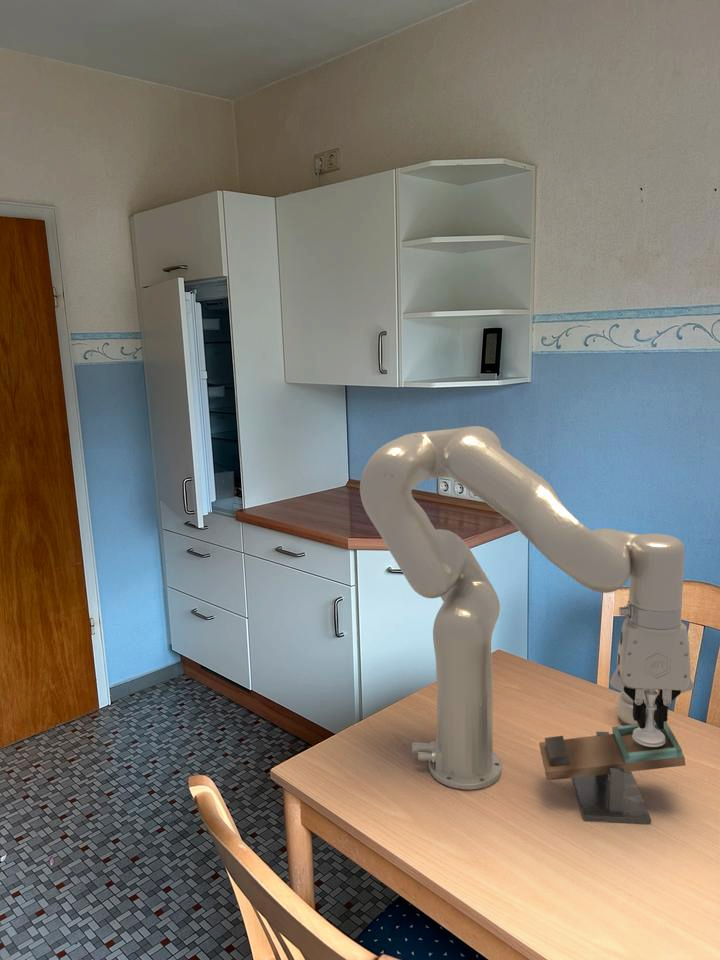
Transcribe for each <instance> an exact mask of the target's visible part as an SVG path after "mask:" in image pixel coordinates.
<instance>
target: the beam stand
mask: <svg viewBox="0 0 720 960" xmlns="http://www.w3.org/2000/svg"><path fill="white" fill-rule="evenodd" d="M607 734H610V732H609V731H596V732H595V736H598V735H607ZM571 780H572V784H573V786H574V788H573V789H574V792H575V795H576V798H577V802H578V806H579V809H580V813H581V817H582V820H583V822H594V823H595V822H598V823H617V824H633V825H634V824H636V825H637V824H638V825H639V824H640V825H651V822H652V818H651V815H650V813H649V811H648V809H647V806H646V803H645V801H644V799H643V796H642V794H641V791H640V789H639V787H638V784H637V782H636V780H635V777H634V774H633V771H631V772H624V770H623V768H609V774H604V775H595V776H586V777H577V778H571Z"/></svg>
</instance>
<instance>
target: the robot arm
mask: <svg viewBox="0 0 720 960" xmlns="http://www.w3.org/2000/svg"><path fill="white" fill-rule="evenodd" d="M502 447H503V446H502V443H501V441H500V439H499V437H498V435H496V433H495V432H493V431H492V430H491V429H489V428H487V427H484V426H479V425H475V426H474V425H472V426H465V427H463V426H462V427H458V428H451V429H450V428H448V429H440V430H431V431H429V430H428V431H422V432H421V431H419V432H412V433H407V434H404V435H402V436H400V437H399V436H398V438H396V439H393V440H391V441H389V442H387V443H385V444H384V445H382V446H380V447H379V448H377V450H376V451H375V452H374V453H373V454H372V455H371V457H370V458H369V459H368V461H367V463H366V464H365V466H364V468H363V470H362V472H361V473H362V474H361V477H360V483H359V484H360V485H359V493H360V499H361V502H362V503H361V504H362V507H363V508H364V511H365V512H366V514H367V517H368V518H369V519H370V521H371V522H372V524H373V526H374V527H375V529H376V531H377V532H378V533H379V535H380V537H381V539H382V540H383V542H384V543H385V545H386V547H387V549H388V551H389V553H390V555H391V556H392V557H393V559H394V560H395V562H396V564H397V565H398V568H399V569H400V571H401V572H402V573H403V576H404V577H405V579H406V581H407V583H408V584H409V586H411V588H412V590H413V591H414V592H415V593H416V594H418V595H419V596H421V597H423V598H426V599H436V598H441V600H442V601H443V603H442V604H441V606H440V608H439V609H438V611H437V614H436V616H435V619H434V622H433V627H432V628H433V629H432V641H433V648H434V654H435V656H434V657H435V671H436V672H435V673H436V679H435V680H436V726H437V731H436V734H437V735H436V736H435V741H429V742H430V743H426V742H416V741H415V742H414V741H413V742H412V743H411V744H412V745H411V753H412V754H413V755H418V756H417V757H418V758H417V759H418V761H421V762H422V761H428V769H429V772H430V774H431V775H432V777H433V778H434V779H435V780H436V781H437V782H439V783H441V784H443V785H445V786H447V787H450V788H453V789H457V790H468V791H470V790H479V789H484V788H487V787H489V786H491V785H493V784H495V783H496V782H497V781H498V780H499V779H500V777H501V775H502V770H503V769H502V768H503V767H502V765H503V764H502V762H501V759H500V758H499V757H498V755H497V754H496V753H494V752H493V751H494V750H493V747H494V746H493V743H494V742H493V738H494V737H493V736H494V735H493V733H494V731H493V727H494V725H493V724H494V723H493V720H494V719H493V718H494V717H493V716H494V713H493V712H494V711H493V708H494V707H493V706H494V702H493V701H494V700H493V698H494V695H493V694H494V693H493V690H494V689H493V686H494V685H493V678H494V677H493V657H492V639H493V637H492V636H493V633H494V630H495V628H496V625H497V621H498V619H499V615H500V609H501V604H500V600H499V596H498V594H497V592H496V590H495V588H494V586H493V585H492V583H491V581H490V580H489V578H488V577H487V575H486V573H485V572H484V570H483V568H482V567H481V565H480V563H479V561H478V560H477V559H476V557H475V555H474V553H473V552H472V550H471V549H470V547H469V546H468V544H467V543H466V542H465V541H464V540H463V538H461V537H460V536H459V535H458V534H456V533H454V532H452V531H451V530H447V529H436V528H435V526H434V525H433V523H432V522H431V520H430V518H429V517H428V514H427V513H426V512H425V510H424V509H423V507H421V505H420V504H419V503H418V502H417V501H416V500H415V499H414V497H413V494H412V491H413V489H414V488H415V487H416V486H417V485H418V484H419V483H421V482H423V481H425V480H428V479H429V480H430V479H440V478H441V479H442V478H452V479H453V480H454V481H456V482H457V483H458V484H460V485H461V486H462V487H464V488H465V489H466V490H467V491H469V492H470V493H472V494H473V495H474V496H476V497H477V498H478V499H479V500H481V501H482V502H484V503H485V504H486V505H488V506H489V507H491V508H492V509H493V510H495V511H496V512H498V513H499V515H502V517H504V518H506V519H507V521H509V522H511V524H513V525H514V526H515V527H516V528H517V530H518V531H519V533H521V535H523V537H524V538H526V539H527V540H528V541H529V542H530V543H531V544H532V545H533V546H534V547H535V548H536V549H537V550H538V552H539V553H540V554H542V555H543V556H544V557H545V559H547V560H548V561H549V562H551V564H553V565H554V566H556V567H557V568H559V570H560V571H562V572H564V573H565V574H566V575H568V576H569V577H570V578H572V580H575V581H576V582H578V583H579V584H580V585H581V586H583V587H585V588H587V589H589V590H591V591H593V592H597V593H604V594H607V593H612V592H615V591H618V590H620V589H621V588H622V587H623V586H624V585H625V584H626V583H627V581H628V580H629V589H628V590H629V592H628V594H629V595H628V600H627V604H626V605H624V606H619V608H618V615H619V616H624V617H625V618H624V620H623V623H622V627H621V630H620V635H619V641H618V648H617V656H616V668H615V670H614V671H613V674H612V676H611V678H610V679H609V684H610V686H611V687H612V688H614V689H615V690H618V691H619V692H621V691H623V692H625V693H626V694H627V695H628V696H629V697H630V698H631V699H632V700H633V719H634V720H635V721H637V723H638V725H639V727H640V728H641V729H644V728H645V723H646V705H645V703H644V699H643V693H644V689H647V690H655V691H657V693H658V695H657V697H656V699H655V702H654V704H656V705H657V709H656V710H654V722H655V723H656V725H657V726H658V728H659V729H664V722H667V723H668V713H669V707H670V705H671V704H672V701H673V700H675V699H677V697H678V696H680V695H681V694H684V693H687V692H690V691H692V690H694V688H695V685H694V683H693V682H692V679H691V654H690V640H689V633H688V628H687V625H686V624H685V623H684V622H683V621H682V611H683V610H682V609H683V608H682V606H683V586H684V570H685V569H684V568H685V546H684V543H683V542H682V540H681V539H679V538H677V537H675V536H672V535H669V534H662V533H646V534H645V533H644V534H641V533H640V534H639V533H633V532H628V531H623V530H620V529H619V530H618V529H613V528H603V527H602V528H596V529H593V530H591V529H589V528H588V527H587V526H586V525H585V524H583V523H582V522H580V521H579V520H578V519H577V518H576V517H575V516H574V515H573V514H572V513H571V512H570V511H569V510H568V509H567V508H566V506H564V504H563V503H562V502H561V500H560V498H559V497H558V496H557V494H556V493H557V492H555V490H554V489H553V487H552V485H551V484H549V482H548V481H547V480H546V479H545V478H544V477H542V476H541V475H539V474H538V473H536V472H535V471H533V470H532V469H531V468H529V467H528V466H527V465H525V464H524V463H523V462H521V461H519V459H517V458H515V457H514V456H512V454H510V453H508V452H507V451H506V450H505V449H503V448H502Z"/></svg>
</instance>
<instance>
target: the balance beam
mask: <svg viewBox="0 0 720 960" xmlns="http://www.w3.org/2000/svg"><path fill="white" fill-rule="evenodd" d="M654 725H655V728H656V729H657V730H659V731H661V732H662V733H663V734H664V735H665V741H666V742H665V744H664V745H662V746H660V747H648V746H644V745H641V744H639V743H637V742H636V741H635V740H634V739H633V737H632V735H633V731H634V730H635V729H636V728H639V725H638V724H634V725H628V724H626V725H620V726H612V727H611V729H612V733H609V734H607V735H598V736H596V735H591V736H583V737H573V738H566V739H564V736H563V735H557V736H548V737H545V738H544V741H540V742H538V744H539V749H540V754H541V759H542V764H543V769H544V774H545V777H546V781H547V782H549V781H558V780H566V779H572V778H577V777H586V776H595V775H604V774H609V768H623V770H624V772H638V771H639V772H640V771H648V770H657V769H667V768H676V767H677V768H678V767H683V766H685V767H686V759H685V755H684V754H683V753H684V752H683V749H682V747H681V746H680V744H679V742H678V740H677V738H676V736H675V735H674V733H673V732H672V731H673V730H671V727H670V725H669V724H668V721H667V722H664V729H659V728H658V726H657V725H656V723H655V721H654Z"/></svg>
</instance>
